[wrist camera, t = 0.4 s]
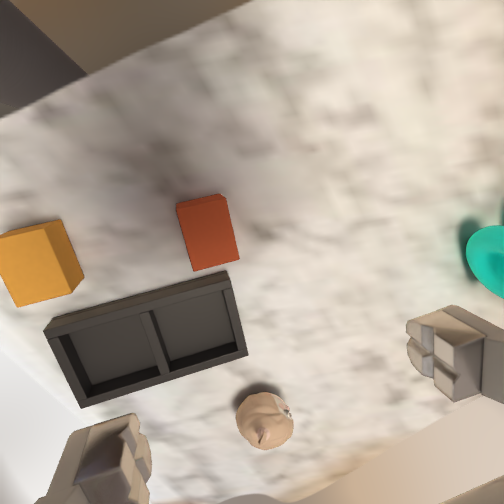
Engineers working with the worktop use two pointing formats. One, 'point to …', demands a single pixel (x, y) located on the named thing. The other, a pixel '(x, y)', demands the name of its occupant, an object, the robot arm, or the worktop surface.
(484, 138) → the worktop surface
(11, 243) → the yellow-orange rectangular block
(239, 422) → the garlic bulb
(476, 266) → the turquoise spool
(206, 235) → the orange-red rectangular block
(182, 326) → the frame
